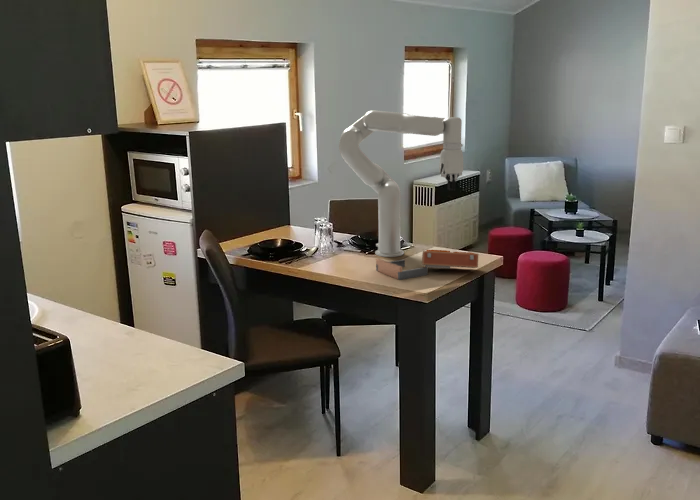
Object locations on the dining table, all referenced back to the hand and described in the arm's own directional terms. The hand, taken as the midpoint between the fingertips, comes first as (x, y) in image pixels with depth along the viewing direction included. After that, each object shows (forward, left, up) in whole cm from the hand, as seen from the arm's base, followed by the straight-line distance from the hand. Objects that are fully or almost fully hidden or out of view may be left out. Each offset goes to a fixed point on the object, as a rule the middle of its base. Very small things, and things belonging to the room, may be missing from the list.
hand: (451, 190), depth 282 cm
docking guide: (+12, -34, -29) cm, 46 cm away
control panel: (+14, -13, -26) cm, 33 cm away
